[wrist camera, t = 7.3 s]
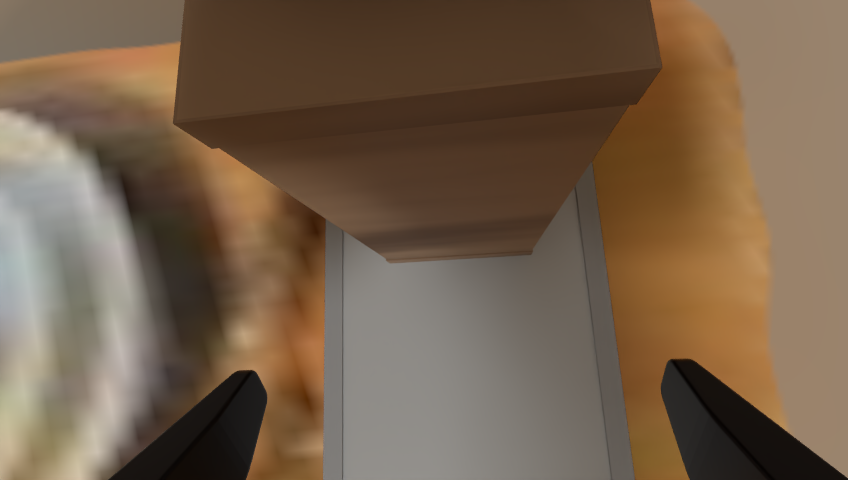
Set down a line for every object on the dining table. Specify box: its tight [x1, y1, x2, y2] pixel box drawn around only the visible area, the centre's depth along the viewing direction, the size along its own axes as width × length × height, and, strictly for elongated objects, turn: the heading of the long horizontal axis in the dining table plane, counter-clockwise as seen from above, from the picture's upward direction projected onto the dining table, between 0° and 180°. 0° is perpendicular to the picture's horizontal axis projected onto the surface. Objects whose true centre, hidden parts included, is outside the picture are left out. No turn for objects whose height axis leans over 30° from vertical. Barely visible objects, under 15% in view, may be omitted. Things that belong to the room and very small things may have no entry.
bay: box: [323, 161, 635, 480], centre depth 16 cm, size 19×12×4 cm, turn 3°
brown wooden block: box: [173, 0, 662, 264], centre depth 12 cm, size 6×6×13 cm
